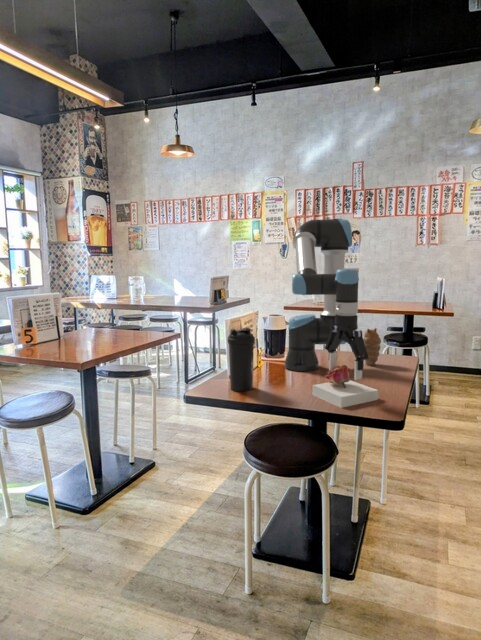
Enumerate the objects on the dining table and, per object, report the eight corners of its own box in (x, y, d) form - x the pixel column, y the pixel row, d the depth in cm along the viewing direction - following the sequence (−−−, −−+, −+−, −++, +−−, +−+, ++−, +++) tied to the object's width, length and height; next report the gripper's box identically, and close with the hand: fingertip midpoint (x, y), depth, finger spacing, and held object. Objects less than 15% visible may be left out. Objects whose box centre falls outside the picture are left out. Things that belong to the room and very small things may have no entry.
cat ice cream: (369, 370, 197) (370, 330, 194) (356, 367, 204) (357, 327, 201) (384, 368, 201) (385, 328, 199) (371, 364, 208) (372, 326, 206)
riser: (312, 395, 162) (312, 385, 162) (347, 389, 169) (347, 379, 169) (341, 408, 148) (341, 397, 148) (378, 401, 155) (378, 390, 155)
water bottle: (257, 391, 169) (256, 330, 166) (230, 392, 167) (229, 331, 164) (252, 383, 179) (251, 326, 176) (226, 385, 177) (225, 327, 174)
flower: (355, 379, 153) (344, 359, 156) (331, 391, 155) (320, 371, 158) (358, 384, 162) (347, 365, 165) (334, 395, 163) (325, 376, 167)
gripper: (315, 311, 164) (315, 368, 167) (362, 319, 142) (361, 384, 145) (332, 310, 167) (331, 365, 170) (380, 317, 145) (378, 381, 148)
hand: (344, 374), depth 158 cm, fingers open, 13 cm apart
